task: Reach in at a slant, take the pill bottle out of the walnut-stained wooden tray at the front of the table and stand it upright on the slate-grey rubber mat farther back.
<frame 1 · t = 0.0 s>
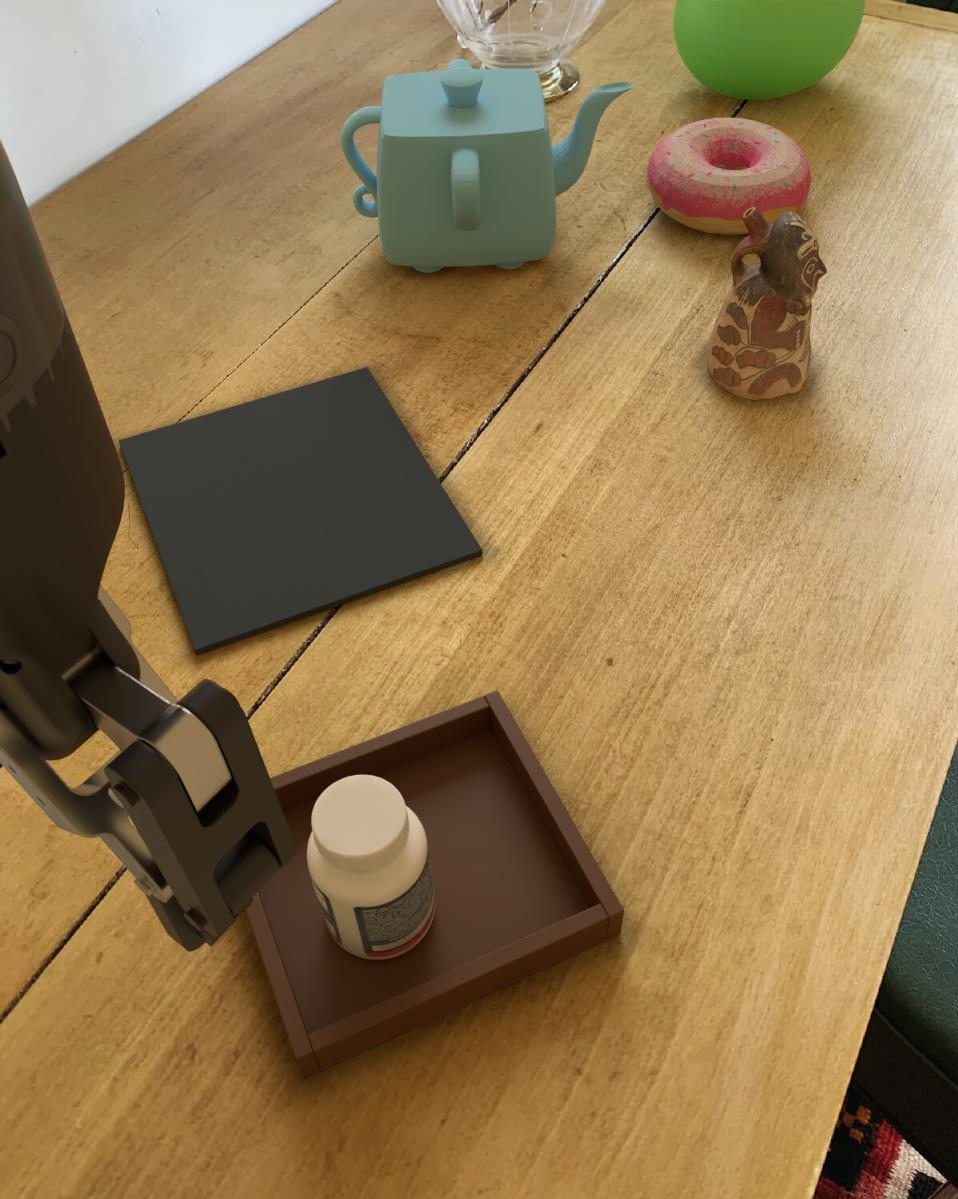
hand: (104, 830, 30), 23 cm above the table, tool pointing down, fingers open, 8 cm apart
tray: (412, 878, 54), on the table
figurine: (755, 371, 79), on the table
donut: (722, 205, 94), on the table
mat: (292, 497, 72), on the table
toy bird: (751, 87, 107), on the table
teapot: (487, 240, 91), on the table
pill bottle: (380, 911, 53), resting on tray
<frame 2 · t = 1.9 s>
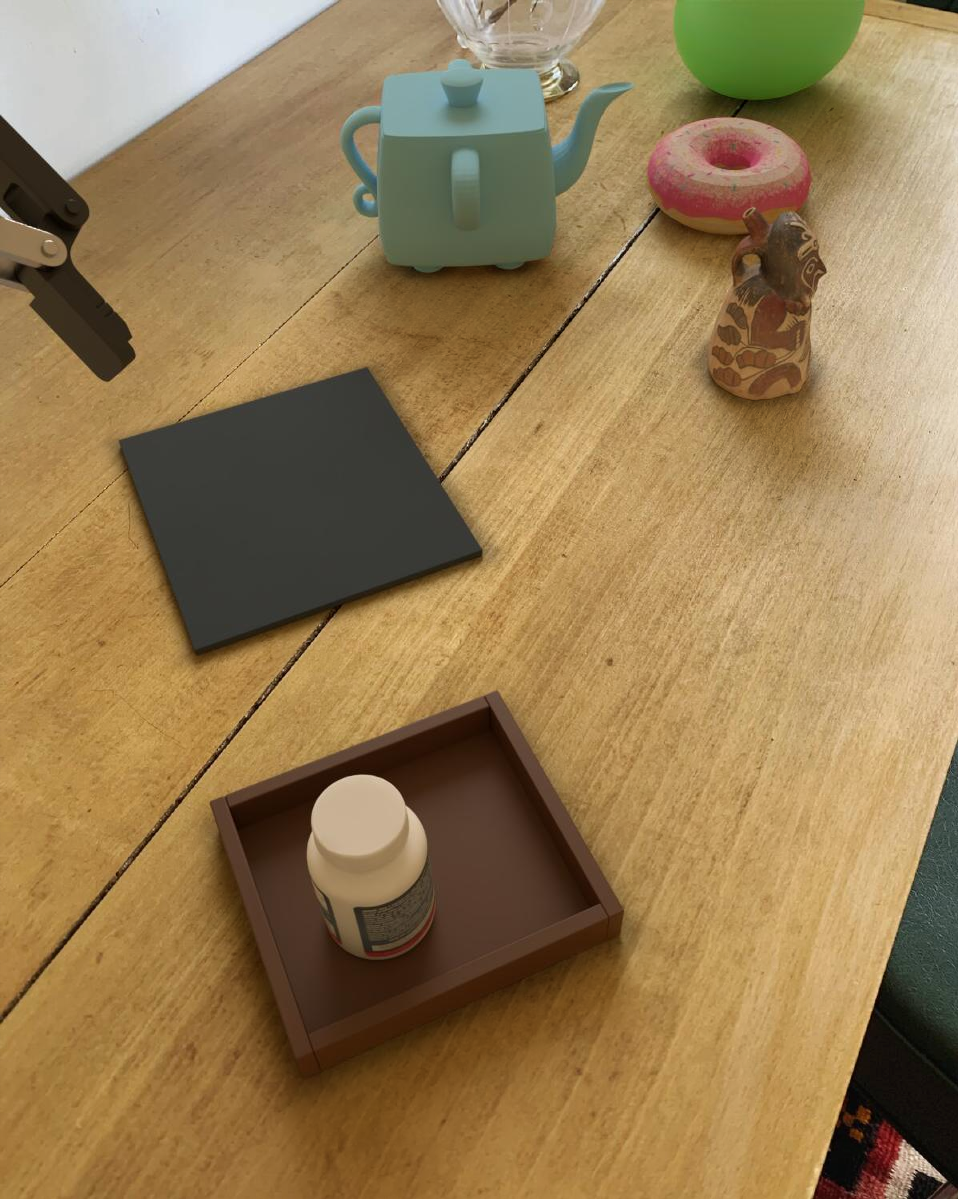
hand: (38, 441, 38), 25 cm above the table, tool tilted 45°, fingers open, 8 cm apart
nothing on the table moved.
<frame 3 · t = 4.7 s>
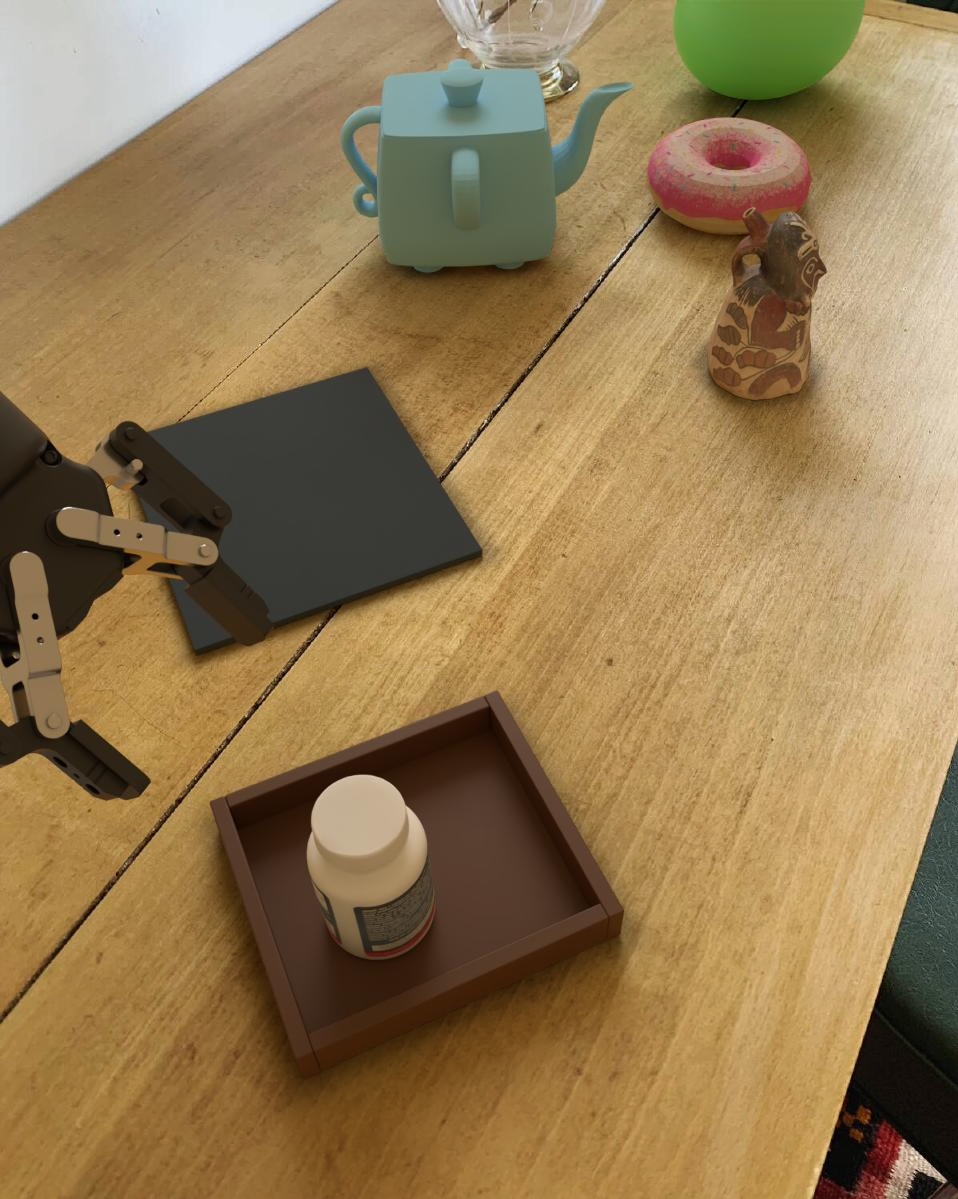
hand: (203, 710, 46), 12 cm above the table, tool tilted 45°, fingers open, 8 cm apart
nothing on the table moved.
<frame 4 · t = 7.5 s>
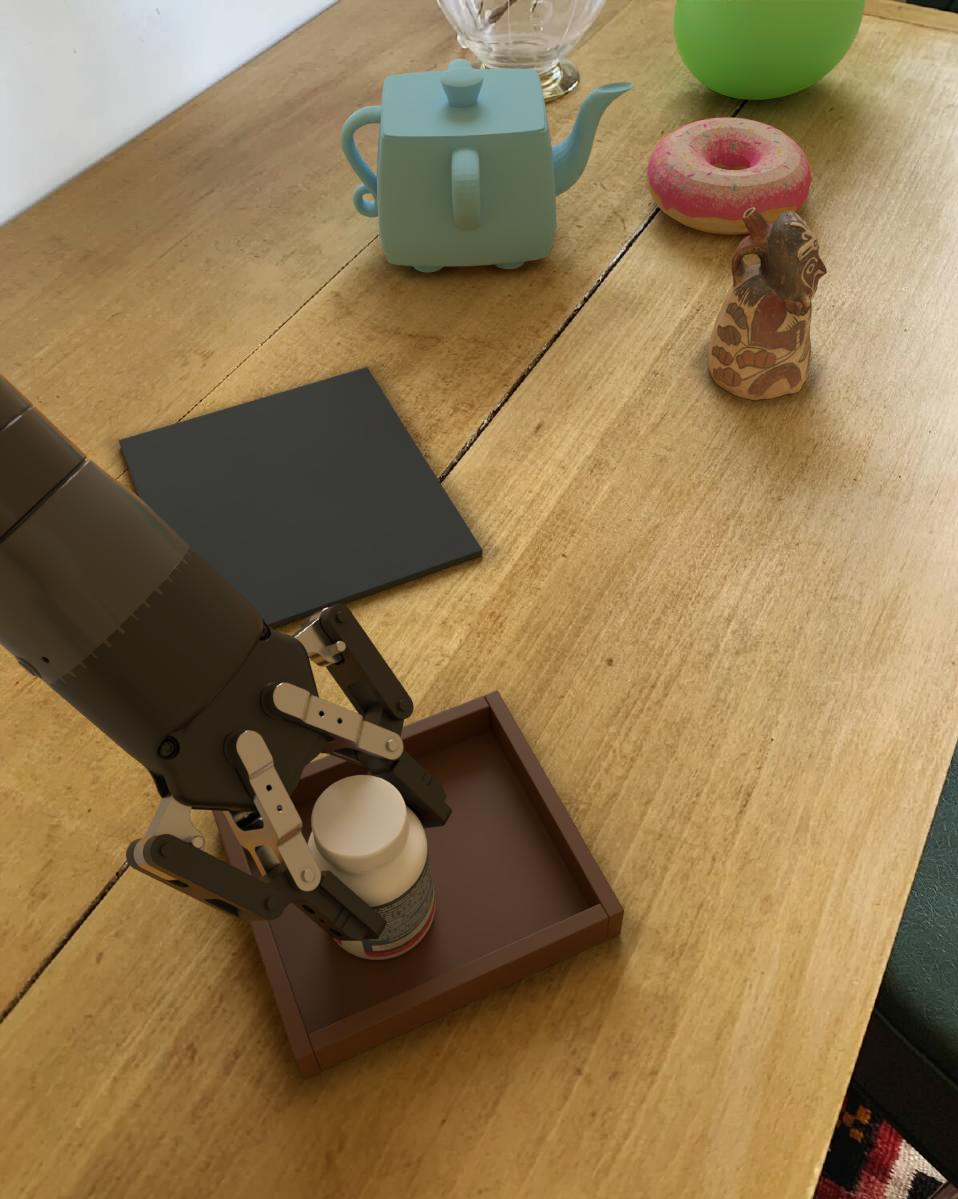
hand: (405, 873, 48), 5 cm above the table, tool tilted 45°, fingers closed on pill bottle, 5 cm apart
pill bottle: (380, 910, 53), resting on tray, touching gripper
everything else where it was.
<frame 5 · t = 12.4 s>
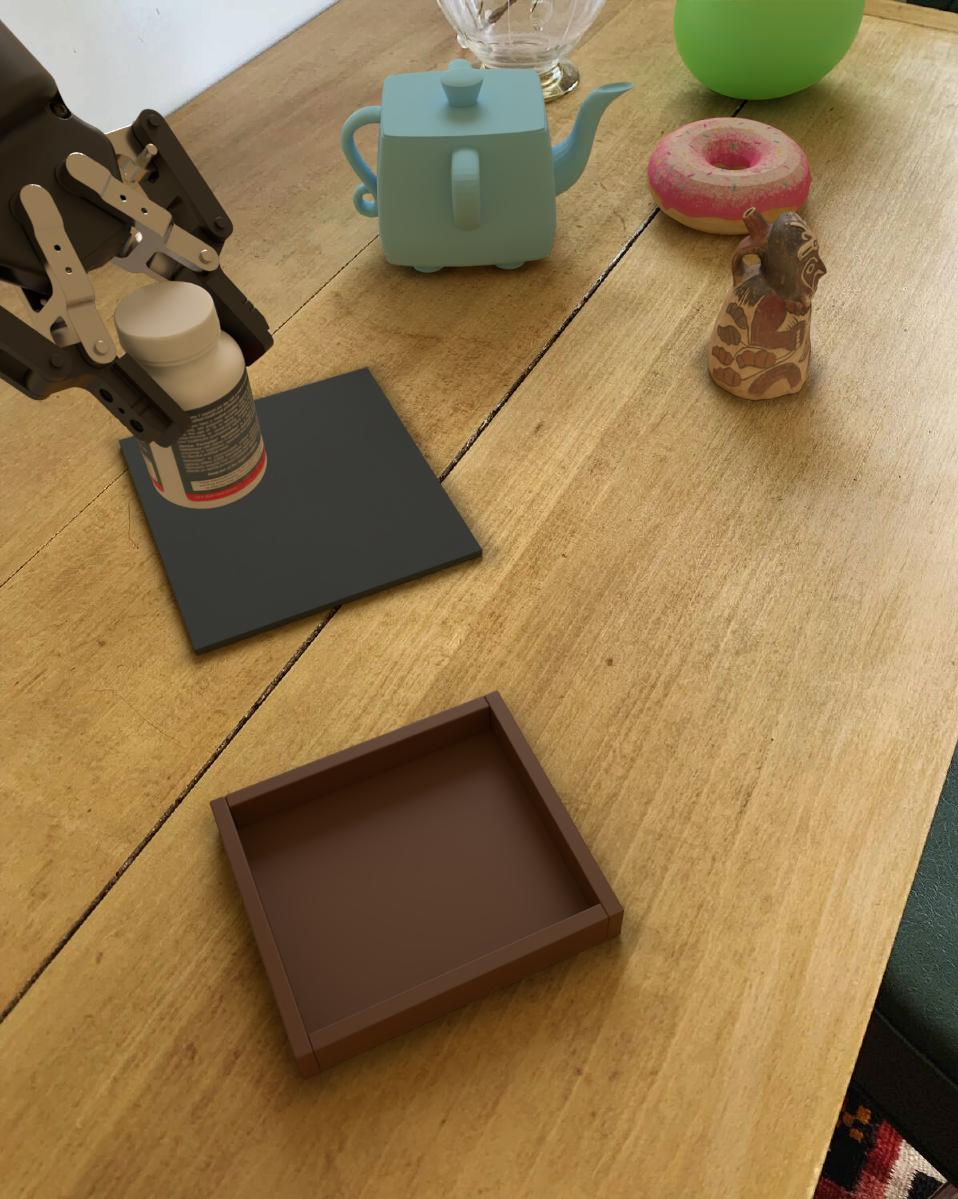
hand: (220, 393, 47), 20 cm above the table, tool tilted 45°, fingers closed on pill bottle, 5 cm apart
pill bottle: (211, 474, 51), point 15 cm above the table, touching gripper
everything else where it was.
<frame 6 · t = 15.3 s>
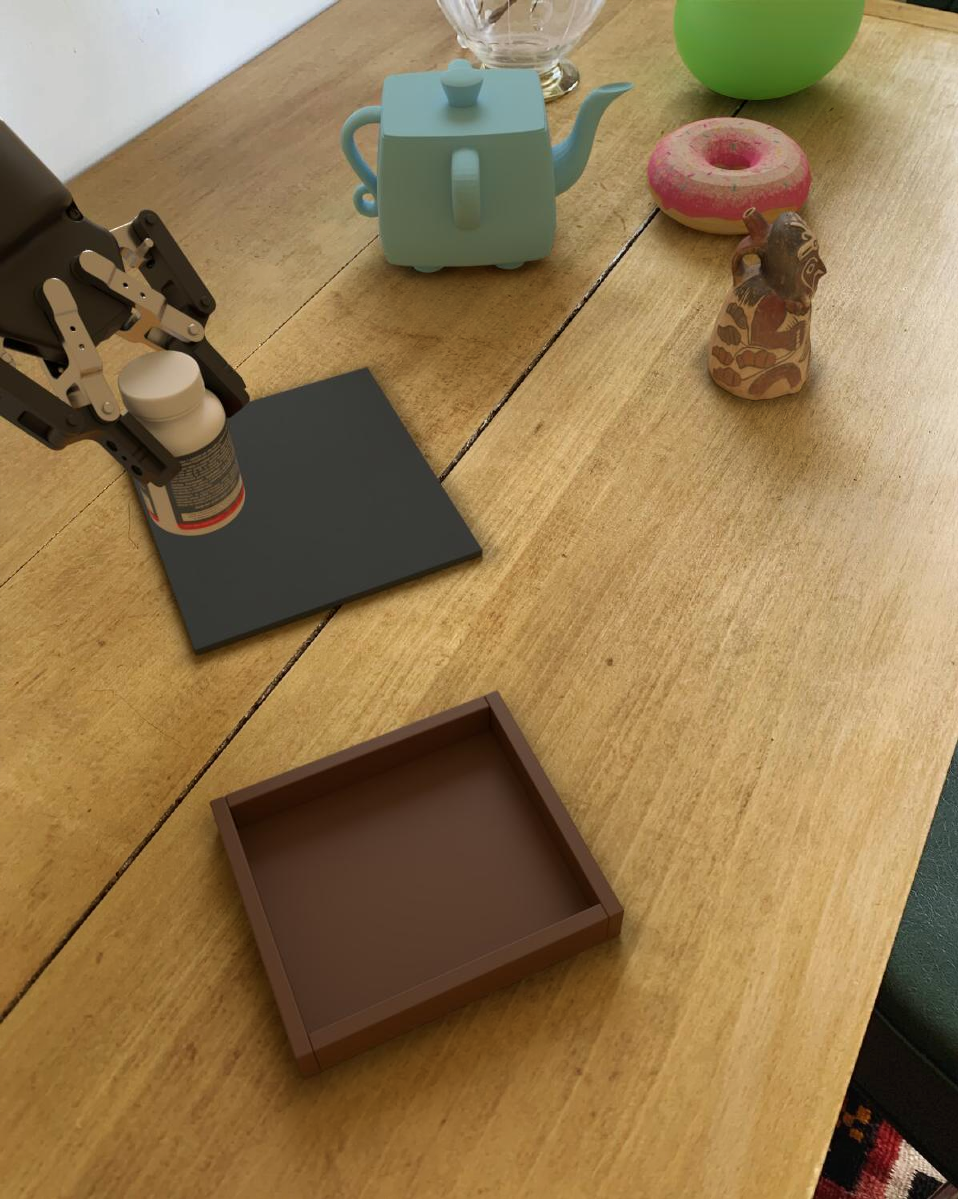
hand: (205, 441, 57), 12 cm above the table, tool tilted 45°, fingers closed on pill bottle, 5 cm apart
pill bottle: (199, 506, 61), point 7 cm above the table, touching gripper
everything else where it was.
when the fingers open (6 cm above the table, at t = 17.7 s): pill bottle stays where it is, resting on mat.
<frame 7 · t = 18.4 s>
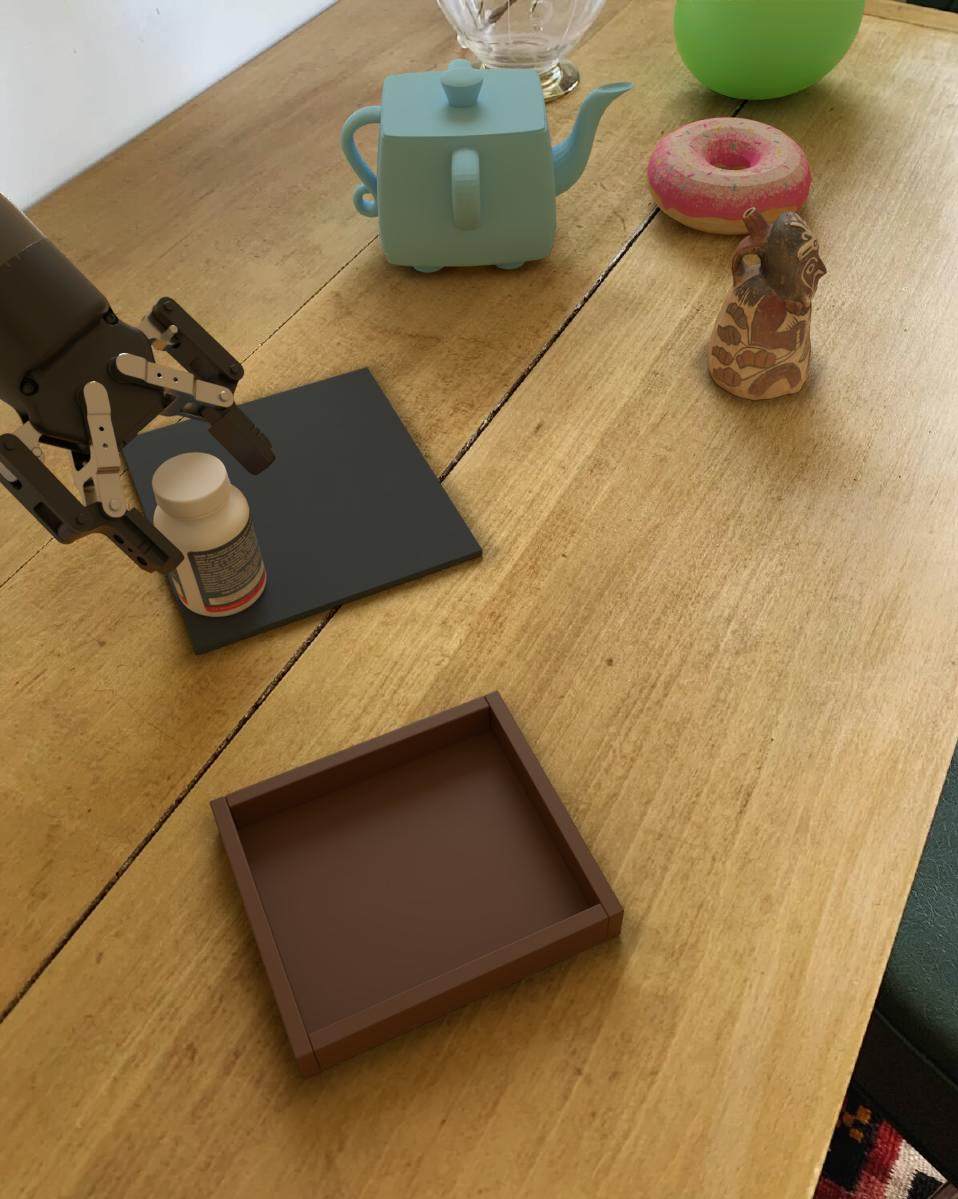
hand: (222, 515, 61), 7 cm above the table, tool tilted 45°, fingers open, 8 cm apart
pill bottle: (223, 588, 66), resting on mat
everything else where it was.
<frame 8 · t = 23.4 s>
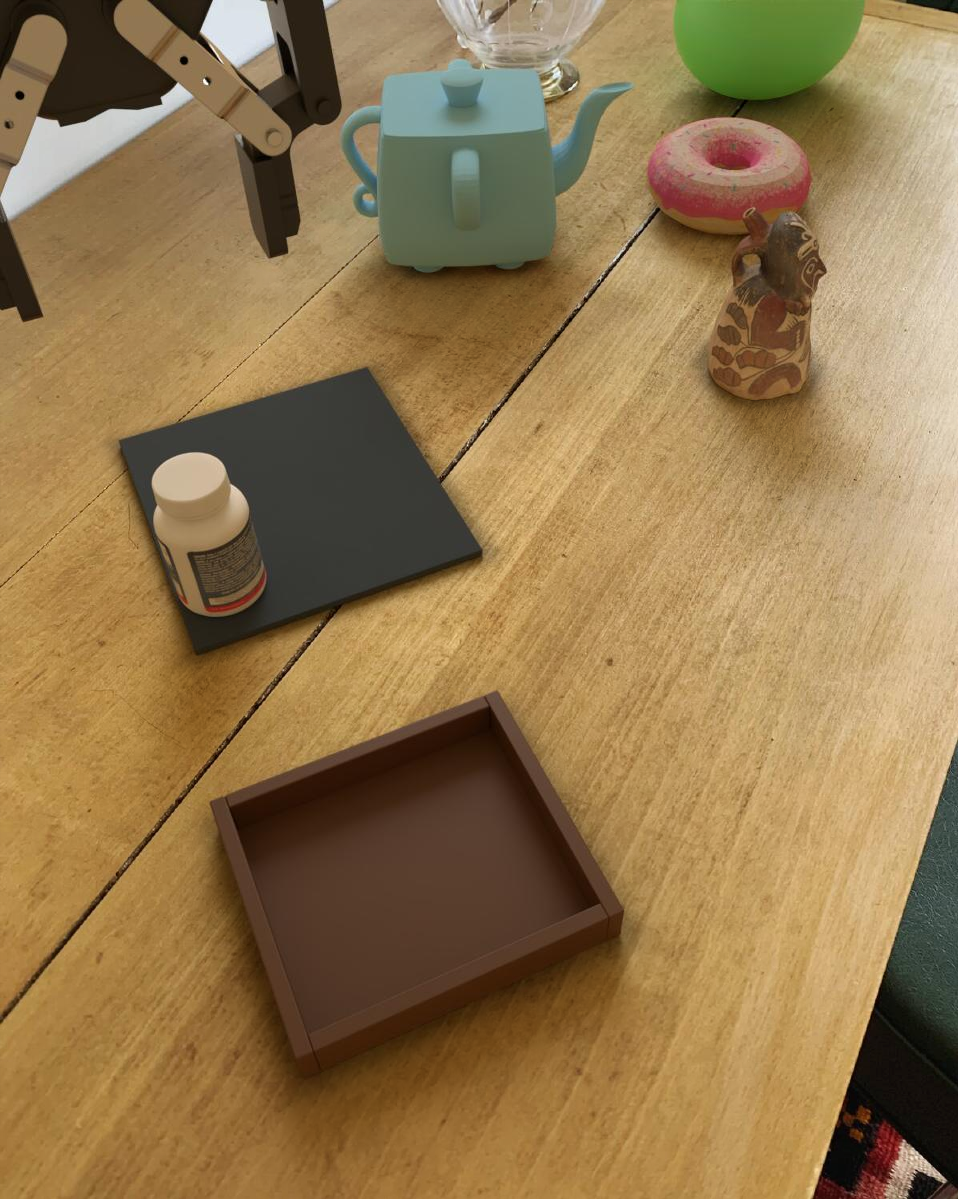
hand: (154, 275, 39), 28 cm above the table, tool pointing down, fingers open, 8 cm apart
nothing on the table moved.
at the end: pill bottle inside the target area on the mat (8.6 cm from its centre), point 0.3 cm above the mat's base; pill bottle tilted 0°; pill bottle touching mat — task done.
